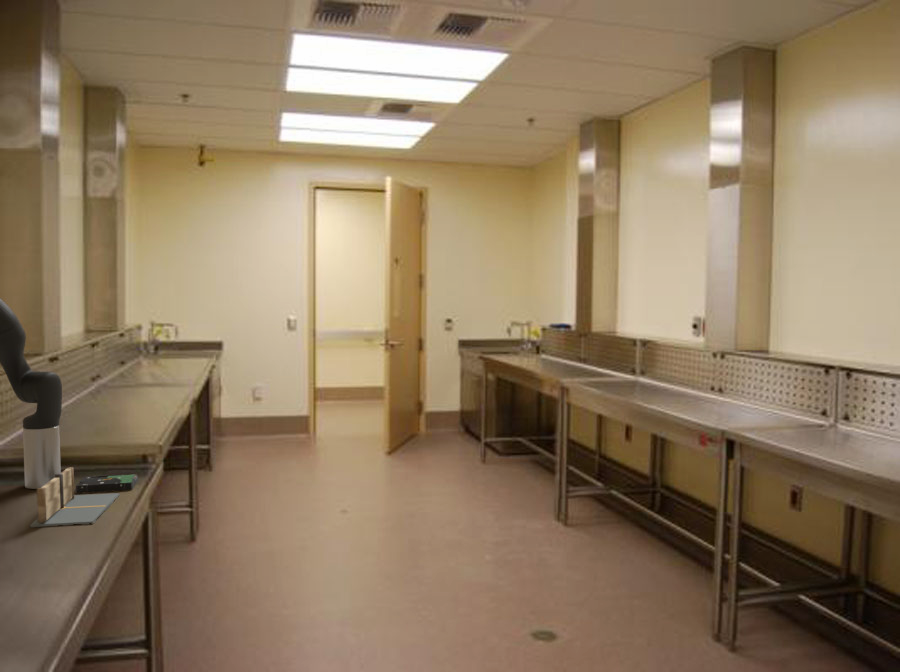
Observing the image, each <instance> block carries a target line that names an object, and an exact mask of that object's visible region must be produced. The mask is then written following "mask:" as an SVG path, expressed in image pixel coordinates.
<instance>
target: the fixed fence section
mask: <svg viewBox="0 0 900 672" xmlns="http://www.w3.org/2000/svg"><path fill="white" fill-rule="evenodd" d="M74 475H75V473H74V467H71V466H70V467H66V468H65V470H63V471H61V473H59V474H55V478H60V509H62V508H64V505H65V504H66V503H67V502H68V501H69V500H70V499H71V500H72V499H74V495H75V477H74Z"/></svg>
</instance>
